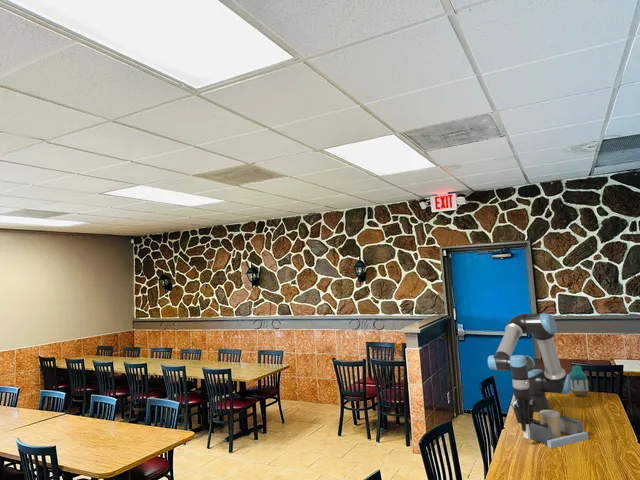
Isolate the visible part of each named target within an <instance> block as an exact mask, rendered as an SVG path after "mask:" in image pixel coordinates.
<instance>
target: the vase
mask: <svg viewBox="0 0 640 480" xmlns="http://www.w3.org/2000/svg"><path fill="white" fill-rule="evenodd" d="M571 369H572V371H571V372H569V373H568V374H569V375H570V377H571V388H570V392H571V393H572V394H573V395H574V396H577V397H585V396H587V395H588V394H589V393H590V391H589V390H590V389H589V381H588V377H587V376H588V375H587V374H586V373H585V372H584V371H583V370H582V366H581V365H572V366H571Z"/></svg>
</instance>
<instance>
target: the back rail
mask: <svg viewBox="0 0 640 480" xmlns="http://www.w3.org/2000/svg"><path fill="white" fill-rule="evenodd" d="M587 440H589V433H588V432H586V431H583V432H581V433H577V434H573V435H565V436H561V437H560V438H555V439H551V440H547V444H546V445H547V447H548V448H549V449H554V448H559V447H562V446H566V445H570V444H576V443H580V442H584V441H587Z"/></svg>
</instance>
